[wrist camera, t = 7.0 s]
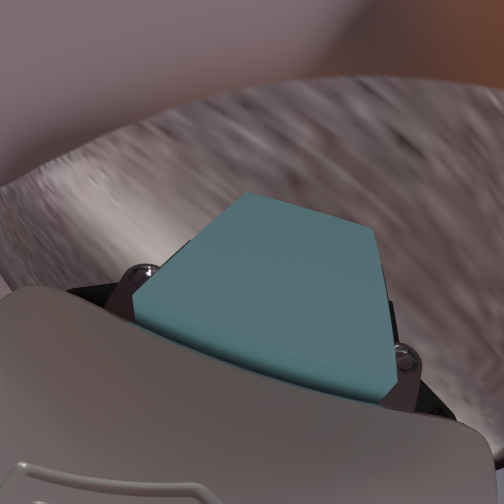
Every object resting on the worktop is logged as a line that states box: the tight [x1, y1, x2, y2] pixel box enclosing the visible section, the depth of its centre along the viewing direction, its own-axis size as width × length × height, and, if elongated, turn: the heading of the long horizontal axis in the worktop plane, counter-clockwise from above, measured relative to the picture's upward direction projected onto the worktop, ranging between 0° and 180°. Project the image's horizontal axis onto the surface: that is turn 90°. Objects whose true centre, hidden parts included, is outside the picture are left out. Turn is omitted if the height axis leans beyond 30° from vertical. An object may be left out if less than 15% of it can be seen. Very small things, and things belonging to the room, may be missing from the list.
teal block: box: [132, 192, 398, 404], centre depth 9 cm, size 5×5×7 cm
